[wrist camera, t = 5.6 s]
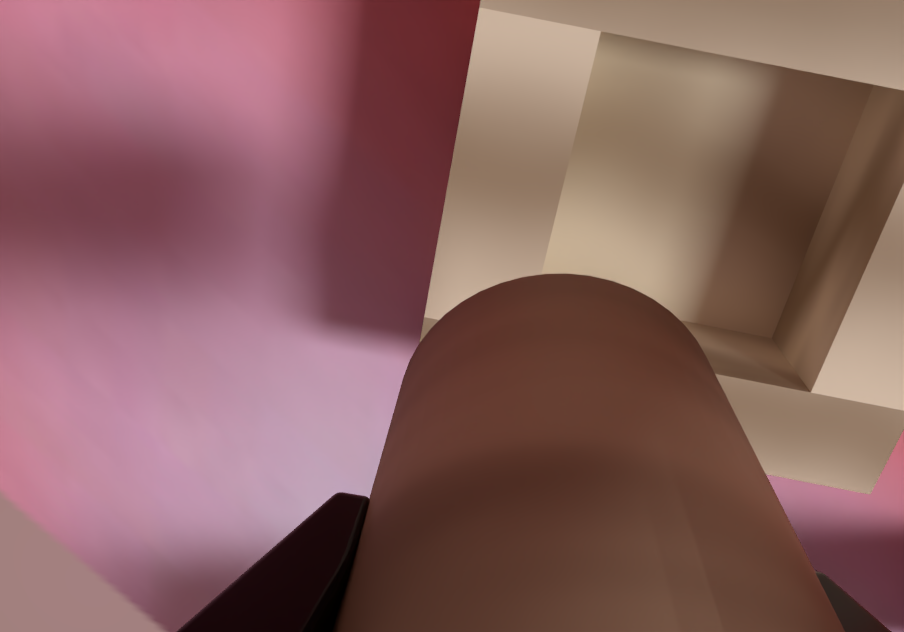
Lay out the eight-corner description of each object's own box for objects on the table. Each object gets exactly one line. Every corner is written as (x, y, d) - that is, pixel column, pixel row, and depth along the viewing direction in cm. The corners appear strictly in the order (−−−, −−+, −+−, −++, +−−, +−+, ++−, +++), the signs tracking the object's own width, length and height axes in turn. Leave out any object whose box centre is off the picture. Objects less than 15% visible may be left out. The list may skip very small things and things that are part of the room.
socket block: (813, 411, 23) (870, 494, 19) (426, 336, 23) (408, 404, 19) (1004, -13, 18) (1131, -13, 14) (506, -111, 18) (504, -135, 14)
